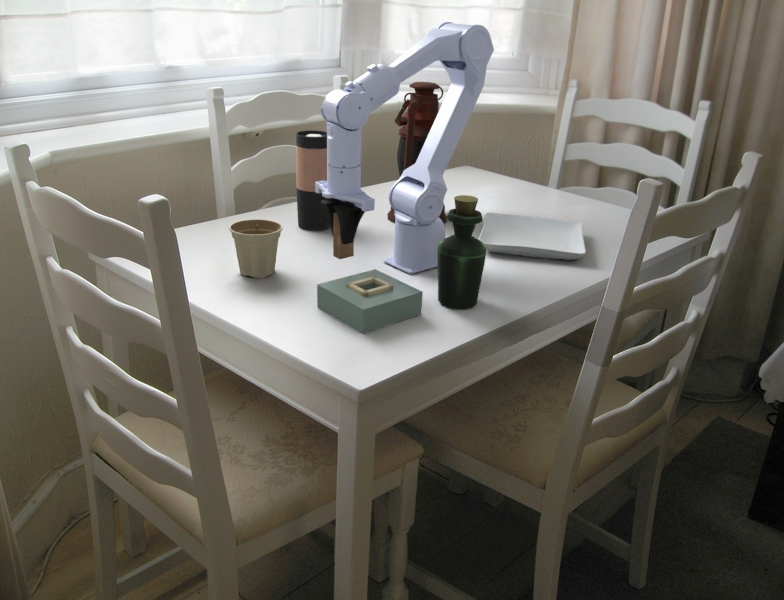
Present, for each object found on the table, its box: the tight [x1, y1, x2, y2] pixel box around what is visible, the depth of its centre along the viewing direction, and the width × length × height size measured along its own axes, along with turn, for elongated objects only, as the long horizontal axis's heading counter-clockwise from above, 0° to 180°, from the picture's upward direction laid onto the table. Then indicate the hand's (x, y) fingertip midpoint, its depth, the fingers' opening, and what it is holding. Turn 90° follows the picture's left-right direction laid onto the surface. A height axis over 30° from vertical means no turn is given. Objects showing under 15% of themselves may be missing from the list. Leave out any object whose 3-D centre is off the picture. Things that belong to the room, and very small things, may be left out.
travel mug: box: [295, 129, 331, 232], centre depth 151 cm, size 8×8×20 cm
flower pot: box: [228, 218, 284, 279], centre depth 127 cm, size 9×9×9 cm
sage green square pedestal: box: [316, 268, 424, 334], centre depth 114 cm, size 12×12×5 cm
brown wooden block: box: [332, 212, 355, 260], centre depth 124 cm, size 2×3×8 cm, turn 130°
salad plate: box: [477, 212, 587, 261], centre depth 149 cm, size 21×21×3 cm
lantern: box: [387, 81, 448, 225], centre depth 157 cm, size 17×14×30 cm
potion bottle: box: [437, 194, 488, 311], centre depth 116 cm, size 8×8×18 cm
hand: (343, 241), depth 125 cm, fingers closed on brown wooden block, 2 cm apart
